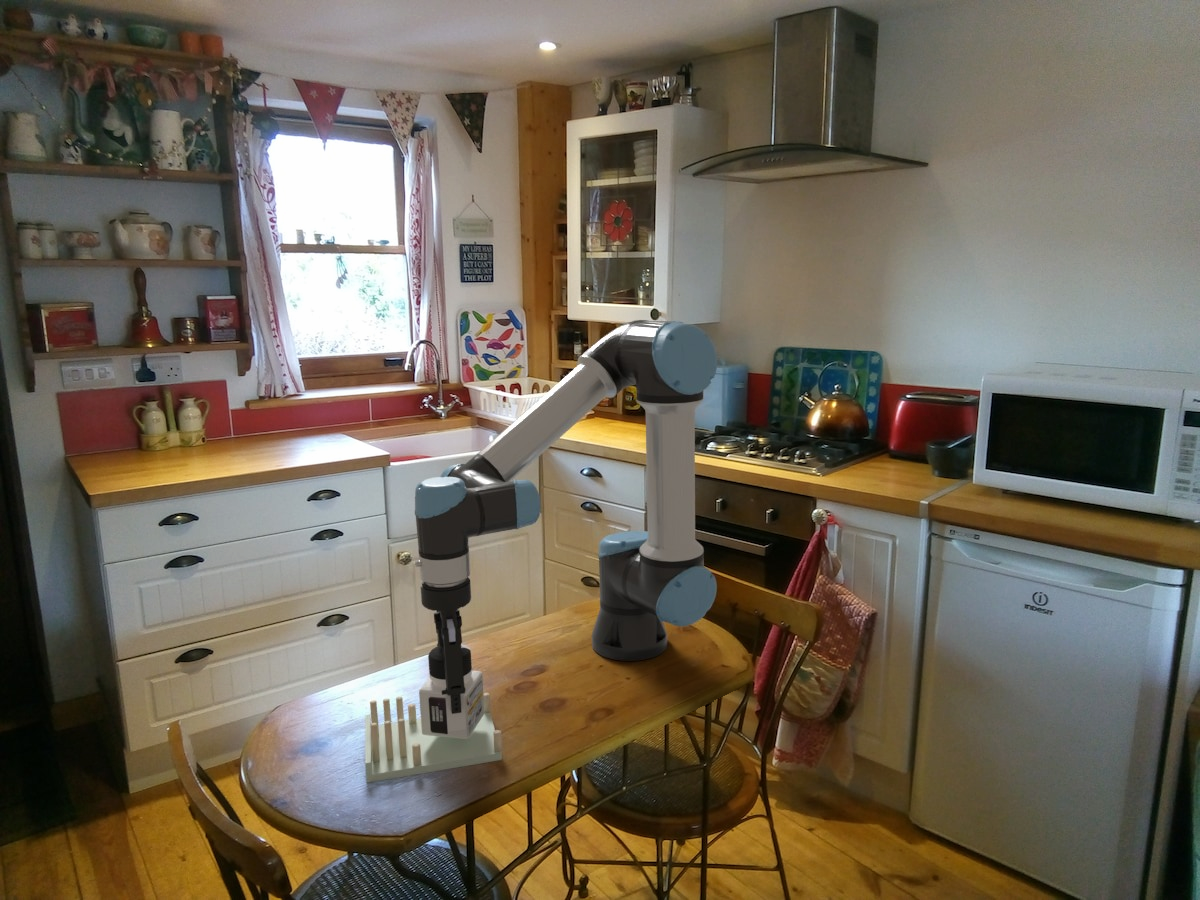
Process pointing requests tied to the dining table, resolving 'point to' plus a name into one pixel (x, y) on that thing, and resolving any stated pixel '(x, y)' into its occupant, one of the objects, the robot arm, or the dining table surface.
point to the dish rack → (423, 744)
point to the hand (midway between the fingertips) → (453, 711)
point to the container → (436, 702)
